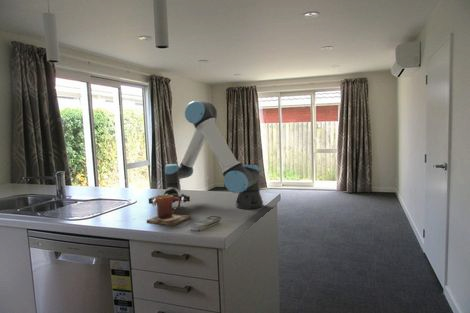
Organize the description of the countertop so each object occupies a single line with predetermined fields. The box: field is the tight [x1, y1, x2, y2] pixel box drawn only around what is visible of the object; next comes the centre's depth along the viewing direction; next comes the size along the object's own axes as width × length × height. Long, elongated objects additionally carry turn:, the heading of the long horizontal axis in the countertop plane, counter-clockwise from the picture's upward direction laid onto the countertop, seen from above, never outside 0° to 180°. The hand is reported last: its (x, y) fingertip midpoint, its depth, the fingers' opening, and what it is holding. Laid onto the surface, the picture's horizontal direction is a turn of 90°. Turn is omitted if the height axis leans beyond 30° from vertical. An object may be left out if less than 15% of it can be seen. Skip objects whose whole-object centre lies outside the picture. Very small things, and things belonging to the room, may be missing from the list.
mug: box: [154, 194, 182, 219], centre depth 160 cm, size 12×9×10 cm
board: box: [146, 213, 192, 227], centre depth 161 cm, size 16×14×2 cm
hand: (168, 203), depth 159 cm, fingers open, 13 cm apart
